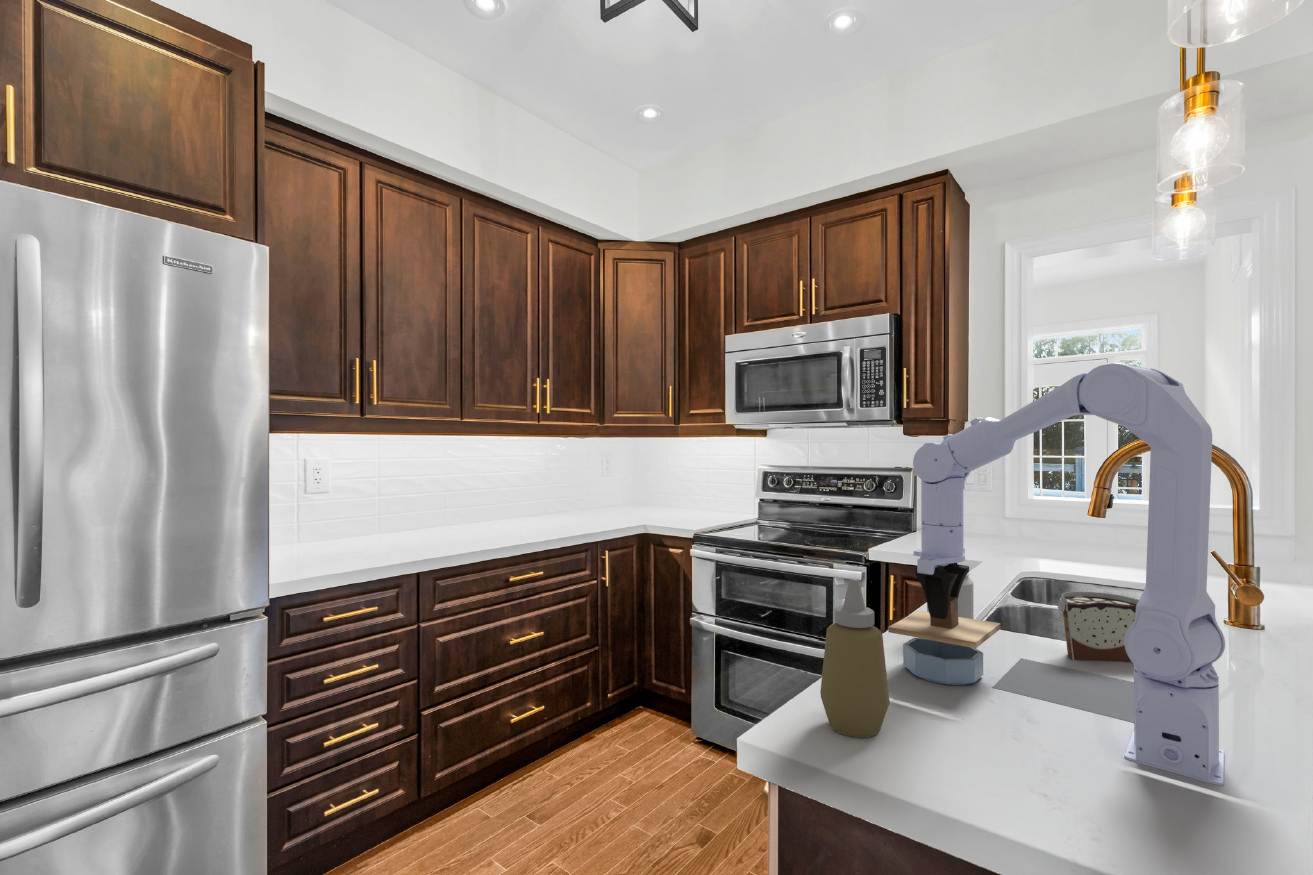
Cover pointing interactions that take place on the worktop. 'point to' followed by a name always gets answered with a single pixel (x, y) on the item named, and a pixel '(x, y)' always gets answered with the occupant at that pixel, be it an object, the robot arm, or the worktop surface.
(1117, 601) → the food container
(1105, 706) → the mat
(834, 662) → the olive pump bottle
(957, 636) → the lid
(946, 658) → the bowl
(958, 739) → the worktop surface
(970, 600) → the can
